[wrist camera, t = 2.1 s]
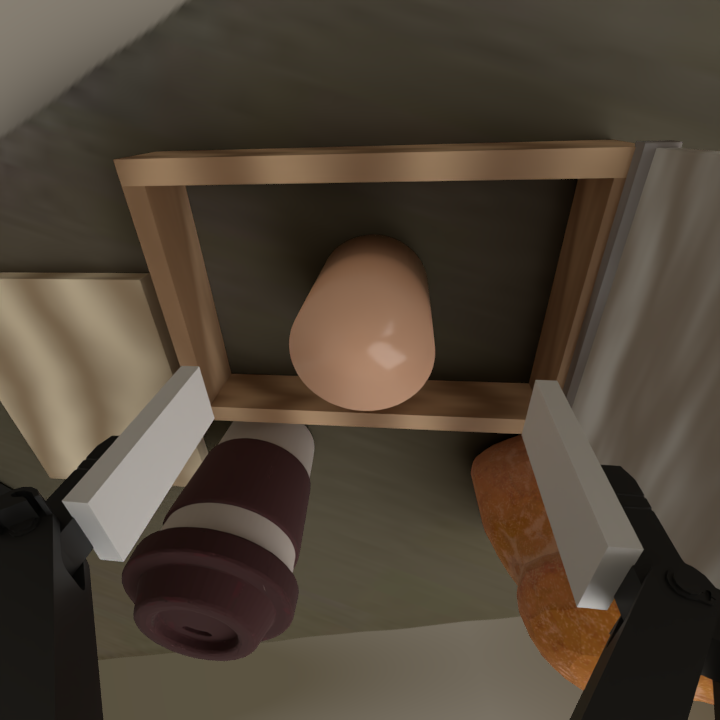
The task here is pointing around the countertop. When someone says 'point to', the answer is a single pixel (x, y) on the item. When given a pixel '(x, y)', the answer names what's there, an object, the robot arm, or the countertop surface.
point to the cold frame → (562, 319)
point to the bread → (541, 566)
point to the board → (82, 361)
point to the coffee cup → (227, 547)
